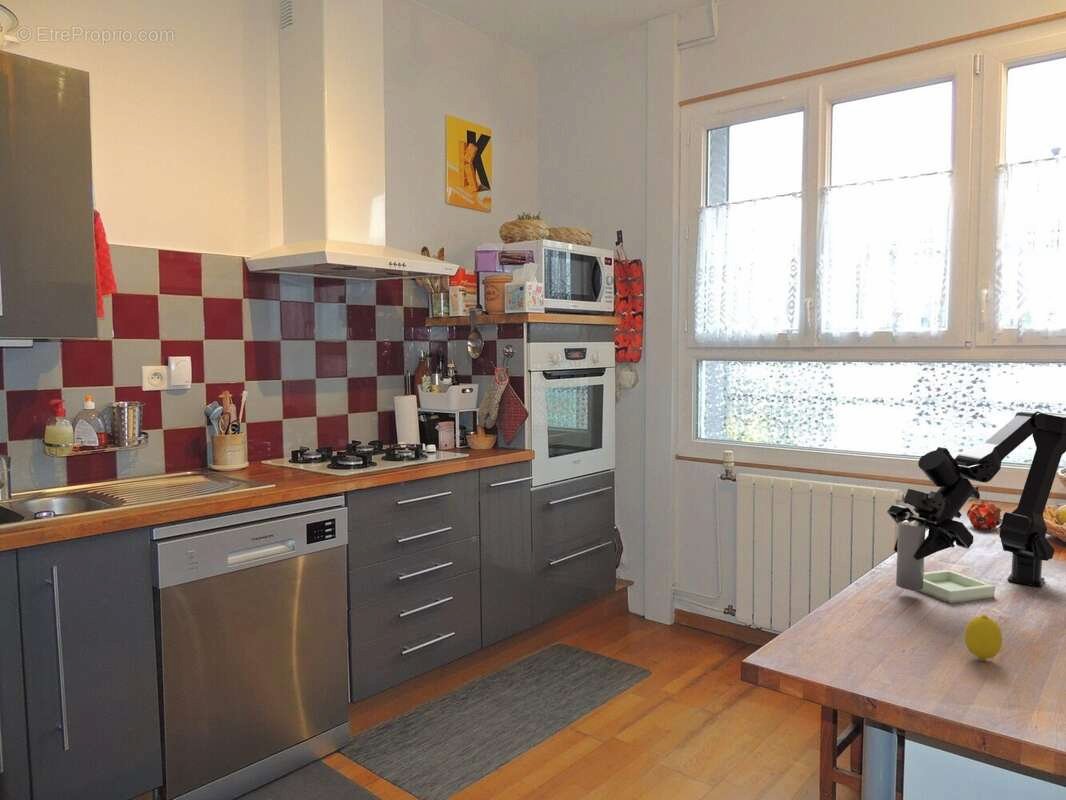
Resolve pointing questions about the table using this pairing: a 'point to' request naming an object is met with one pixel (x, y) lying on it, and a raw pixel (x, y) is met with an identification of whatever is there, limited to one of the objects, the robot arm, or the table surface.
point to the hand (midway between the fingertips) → (905, 555)
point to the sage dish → (955, 587)
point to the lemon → (983, 637)
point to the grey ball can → (910, 555)
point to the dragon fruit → (984, 515)
